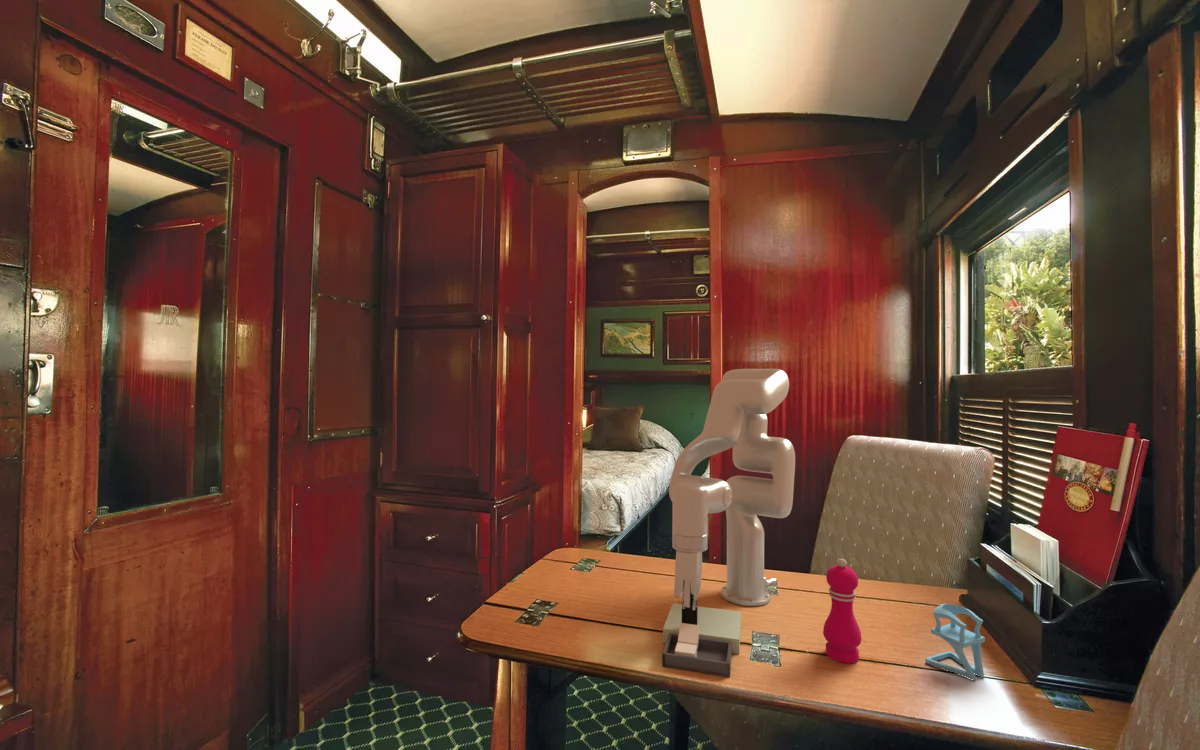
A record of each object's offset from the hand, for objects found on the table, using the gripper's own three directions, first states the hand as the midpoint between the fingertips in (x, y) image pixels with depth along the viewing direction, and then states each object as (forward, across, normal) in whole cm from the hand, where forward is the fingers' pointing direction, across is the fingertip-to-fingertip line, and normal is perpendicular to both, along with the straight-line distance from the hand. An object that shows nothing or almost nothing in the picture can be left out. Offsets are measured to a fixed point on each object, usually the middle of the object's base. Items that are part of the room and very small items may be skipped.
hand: (689, 625), depth 114 cm
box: (+4, +6, +2) cm, 8 cm away
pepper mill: (+4, -4, +31) cm, 31 cm away
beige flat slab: (+4, -6, +2) cm, 7 cm away
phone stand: (+4, -6, +52) cm, 52 cm away
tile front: (+1, +7, 0) cm, 7 cm away
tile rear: (+2, +2, 0) cm, 3 cm away
